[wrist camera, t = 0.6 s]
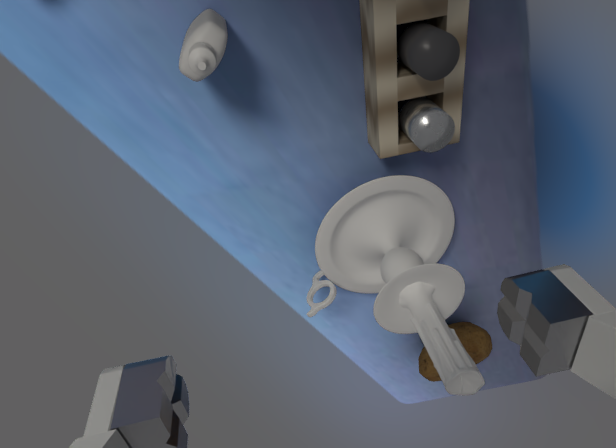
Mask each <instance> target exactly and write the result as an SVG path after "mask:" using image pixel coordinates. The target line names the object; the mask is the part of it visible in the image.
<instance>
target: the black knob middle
mask: <svg viewBox="0 0 616 448" xmlns="http://www.w3.org/2000/svg"><path fill="white" fill-rule="evenodd" d="M397 53H398V57H399V59H400V61H401V62H402V63H403V64H404V65H406V66H407V67H408V68H410V69H411V70H413V71H414V72H415V73H417V74H418V75H419V76H421V77H422V78H424V79H426V80H429V81H436V80H440V79H442V78H444V77H446V76H447V75H448V74H450V73H451V72H452V70H453V69H454V68H455V66H456V64H457V62H458V60H459V56H460V46H459V43H458V41H457V39H456V38H455V37H454V36H453V35H452V34H450V33H448V32H446V31H444V30H442V29H439V28H437V27H435V26H433V25H431V24H429V23H425V22H418V23H414V24H412V25H410V26H409V27H408V28H406V29H405V31H404V32H403V33H402V34H401V36H400V38H399V41H398V45H397Z"/></svg>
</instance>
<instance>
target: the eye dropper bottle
mask: <svg viewBox="0 0 616 448" xmlns="http://www.w3.org/2000/svg"><path fill="white" fill-rule="evenodd" d="M227 37H228V35H227V26H226V20H225V19H224V18H223V17H222V16H221V15H219V14H218V13H217V12H215V11H214V10H212V9H207V10H205V11H203V12H202V13H201V14H199V15H198V16H197V17H196V18H195V19H194V21H193V22H192V23H191V25H190V26H189V28H188V30H187V32H186V35H185V38H184V42H183V46H182V50H181V54H180V59H179V69H180V72H181V73H182V74H184V75H185V76H186V77H188V78H190V79H191V80H193V81H196V82H198V81H201V80H203V79H204V78H206V77H207V76H209V75H210V74H211V73H212V72H213V71H214V70H215V69H216V67H217V66H218V65H219V63H220V61H221V59H222V57H223V55H224V52H225V49H226V44H227Z"/></svg>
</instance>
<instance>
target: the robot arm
mask: <svg viewBox="0 0 616 448" xmlns="http://www.w3.org/2000/svg"><path fill="white" fill-rule="evenodd" d="M501 291H502V293H503V294H504V295H505V296H504V297H503V298H502V300H501V301H500V302H499V303H498V311H497V314H498V318H499V323H500V325H501V327H502V329H503V332H504V333H505V334H506V336H507V337H508V339H509V340H511V341H513V342H515V343H517V344H519V345H520V355H521V357H522V358H523V359H524V361H525V362H526V363H527V365H528V366H529V367H530V369H531V370H532V372H533V373H534V374H535V376H536V377H537V376H541V375H546V374H550V373H555V372H560V371H564V370H569V369H571V372H573V373H574V374H576V375H578V376H579V377H581V378H582V379H584V380H586V381H587V382H589V383H591V384H592V385H594V386H595V387H597V388H599V389H600V390H602V391H603V392H605V393H607V394H608V395H610V396H612V397H613V398H615V399H616V309H615V308H614V307H613V306H612V305H611V304H610V303H609V302H608V301H607V300H606V299H605V298H603V297H602V296H601V295H600V294H599V293H598V292H597V291H596V290H595V289H593V287H592V286H590V285H589V284H588V283H587V282H586V281H585V280H584V279H583V278H582V277H581V276H579V274H577V273H576V272H575V271H574V270H573V269H572V268H571V267H570V266H567V265H565V264H563V265H559V266H555V267H550V268H547V269H543V270H542V269H541V270H537V271H533V272H528V273H524V274H520V275H516V276H512V277H508V278H505V279H504V280H503V282H502V285H501ZM176 367H177V364H176V362H175V361H174V359H173V357H172V356H165V357H160V358H155V359H150V360H145V361H140V362H135V363H130V364H126V365H122V366H117V367H112V368H108V369H104V370H103V372H102V373H101V374H100V376H99V380H98V383H97V387H96V391H95V395H94V398H93V402H92V406H91V410H90V414H89V417H88V421H87V425H86V429H85V432H84V436H83V437H81V438H77V439H76V440H75V441H74V442H73V443H72V444H71V446H70V447H69V448H187V441H188V434H187V432H186V430H185V428H184V426H183V424H184V423H185V421H186V420H187V418H188V417H189V397H188V391H187V387H186V384H185V381H184V379H183V377H182V376H180V375H177V374H176Z"/></svg>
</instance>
